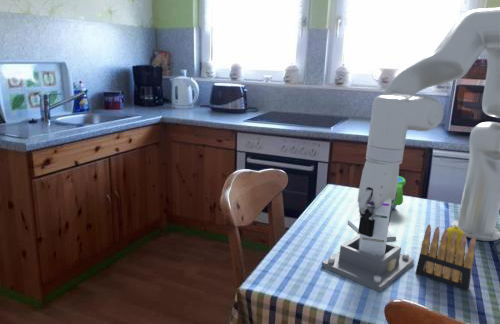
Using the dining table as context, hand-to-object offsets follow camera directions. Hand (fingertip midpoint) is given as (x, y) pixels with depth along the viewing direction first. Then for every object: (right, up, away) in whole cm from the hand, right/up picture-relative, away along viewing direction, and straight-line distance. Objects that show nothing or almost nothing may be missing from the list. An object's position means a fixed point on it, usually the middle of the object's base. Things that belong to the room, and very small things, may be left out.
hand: (374, 229), depth 93 cm
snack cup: (+16, 0, +42) cm, 44 cm away
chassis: (-1, -9, +2) cm, 9 cm away
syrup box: (0, -6, +2) cm, 7 cm away
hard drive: (+6, -5, +22) cm, 23 cm away
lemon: (+22, -8, +9) cm, 25 cm away
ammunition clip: (+14, -11, -3) cm, 18 cm away
